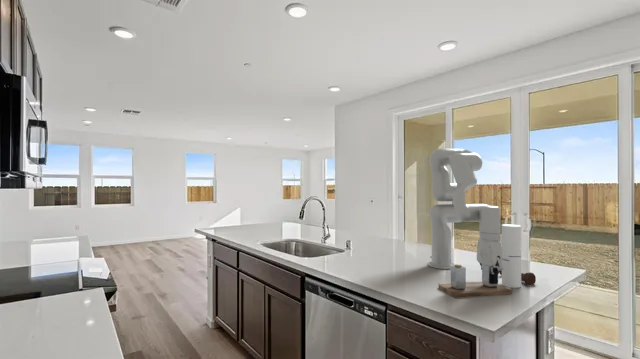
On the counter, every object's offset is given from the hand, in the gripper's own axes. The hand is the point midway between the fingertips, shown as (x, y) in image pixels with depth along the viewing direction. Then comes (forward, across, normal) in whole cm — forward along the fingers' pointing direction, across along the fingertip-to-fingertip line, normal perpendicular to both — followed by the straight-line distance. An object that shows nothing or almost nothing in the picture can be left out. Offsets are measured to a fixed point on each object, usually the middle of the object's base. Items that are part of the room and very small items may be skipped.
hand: (489, 281), depth 135 cm
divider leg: (+1, 0, 0) cm, 1 cm away
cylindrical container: (+3, -4, +13) cm, 14 cm away
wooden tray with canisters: (+3, 0, -7) cm, 8 cm away
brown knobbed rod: (+4, -10, +20) cm, 22 cm away
